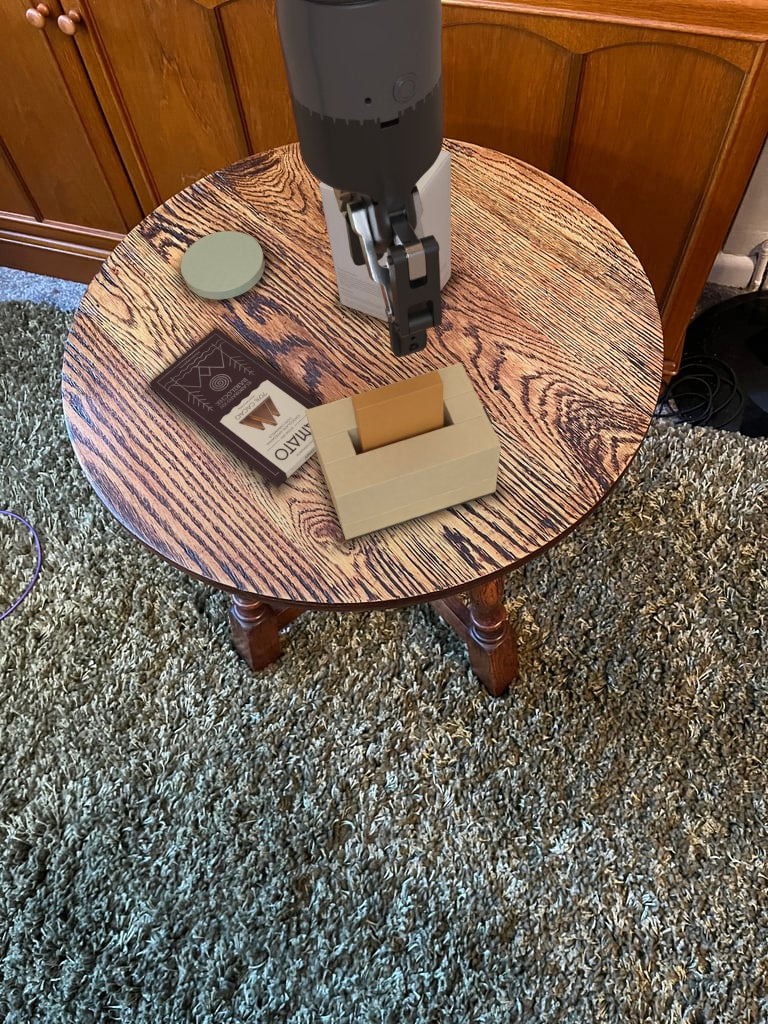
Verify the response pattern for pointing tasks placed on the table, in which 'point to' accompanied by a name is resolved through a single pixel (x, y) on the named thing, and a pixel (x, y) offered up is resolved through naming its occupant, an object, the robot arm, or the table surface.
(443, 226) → the white product box
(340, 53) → the robot arm
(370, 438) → the toast
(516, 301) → the table surface
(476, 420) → the toaster
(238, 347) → the chocolate bar
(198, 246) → the plate
